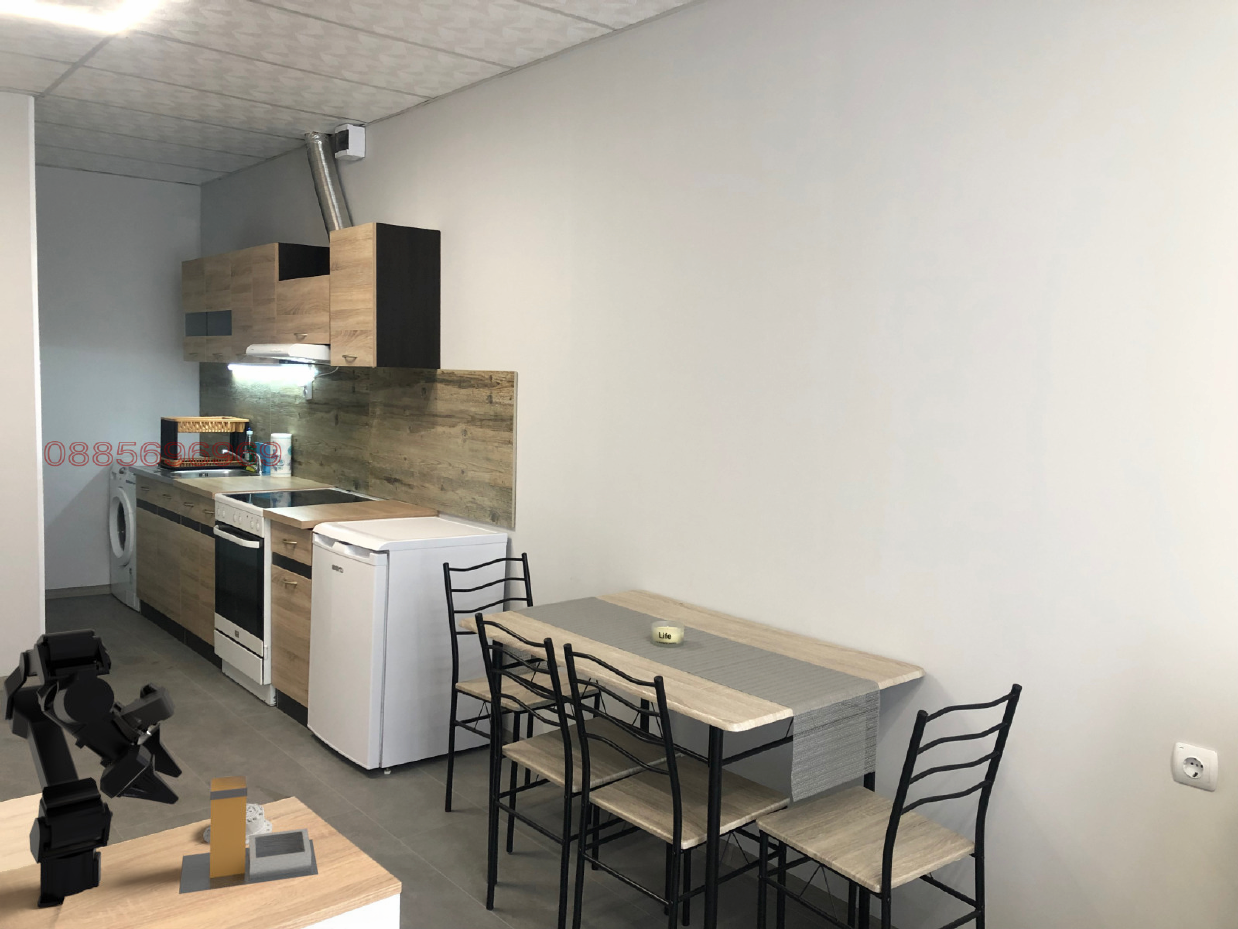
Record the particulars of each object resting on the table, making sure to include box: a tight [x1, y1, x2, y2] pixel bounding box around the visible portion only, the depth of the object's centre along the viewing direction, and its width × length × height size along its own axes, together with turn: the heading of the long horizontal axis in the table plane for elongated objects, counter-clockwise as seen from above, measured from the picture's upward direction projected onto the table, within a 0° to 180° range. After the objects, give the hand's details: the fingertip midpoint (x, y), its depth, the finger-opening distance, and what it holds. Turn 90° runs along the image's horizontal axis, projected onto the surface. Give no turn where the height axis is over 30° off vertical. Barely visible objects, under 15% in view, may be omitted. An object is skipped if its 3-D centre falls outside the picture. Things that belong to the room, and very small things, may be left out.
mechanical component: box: [202, 802, 273, 845], centre depth 146 cm, size 10×4×10 cm
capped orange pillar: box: [209, 774, 248, 878], centre depth 135 cm, size 5×5×12 cm
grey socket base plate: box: [179, 827, 319, 895], centre depth 136 cm, size 18×11×4 cm, turn 112°
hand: (178, 787), depth 132 cm, fingers open, 9 cm apart
